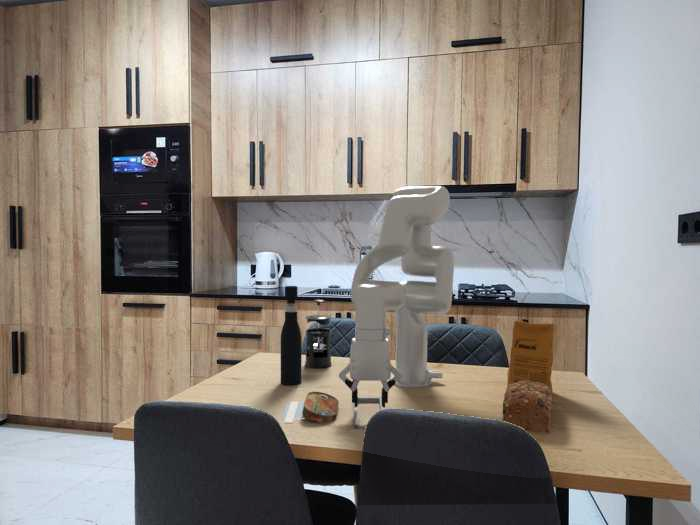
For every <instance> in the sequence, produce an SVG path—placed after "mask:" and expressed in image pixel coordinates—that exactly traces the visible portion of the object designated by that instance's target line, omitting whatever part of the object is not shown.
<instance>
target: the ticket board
mask: <svg viewBox="0 0 700 525" xmlns="http://www.w3.org/2000/svg"><path fill="white" fill-rule="evenodd" d="M304 402H305V401H304ZM304 402H300V401H291V402H290V401H287V403H286V405H285V408H284V411H283V414H282V416H281V419H280V421H279V423H280V422H281V423H280V424H293V423H294V421H293V420H294V418H297V417H299V418H301V419H302V418H304V417H303V415H302V411H303V407H304ZM284 418H285V421H284V420H283V421H284V423H282V419H284ZM309 423H313V422H312V421H309Z"/></svg>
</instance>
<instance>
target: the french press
mask: <svg viewBox="0 0 700 525" xmlns="http://www.w3.org/2000/svg"><path fill="white" fill-rule="evenodd" d="M312 302H315V303H316V304H317V314H312V315H306V317H305V319H306V323H307V324H308V323H311V322H316V323H317V328H315V327H314V328H308V329H306V330H305V335H306V353H305V362H304V365H305V366H306V367H308V368H314V369H315V368H317V369H318V368H319V369H320V368H321V369H322V368H328V367H331V365H332V354H331V335H332V330H331V328H323V327H321V328H320V325H321V326H326V325H330V323H331V319H332V316H331V315H327V314H326V315H325V314H320V306H321V303H323V302H325V300H324V299H319V298H317V299H313V300H312ZM314 338H317V343H314V342H315V341H314V340H315V339H314ZM320 338H322V343H320Z"/></svg>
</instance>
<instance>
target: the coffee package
mask: <svg viewBox="0 0 700 525" xmlns="http://www.w3.org/2000/svg"><path fill="white" fill-rule="evenodd" d="M513 322H514V323H513V328H512V340H511V341H512V343H511V348H510V359H509V367H508V371H507V379H506V380H507V384H506V386H507V387H508V386H509V385H510V384H514V383H516V382H518V381H520V380H526V381H533V382H538V383H542V384H546V385H547V386H549V387H550V388H551V392H552V396H551V397H552V398H553V397H554V392H553V385H552V380H551V378H552V373H553V372H552V367H553V361H554V346H553V345H554V332H555V324H554V323H553V322H550V323H549V322H546V323H531V322H526V321H521V320H517V319H514V321H513Z"/></svg>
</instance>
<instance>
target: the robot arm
mask: <svg viewBox="0 0 700 525" xmlns="http://www.w3.org/2000/svg"><path fill="white" fill-rule="evenodd" d="M450 197H451V196H450V192H449V191H448V189H447V188H446V187H445V186H442V185H430V186H429V185H427V186H405V187H401V188H398V189H396V190H394V192H393V194H392V198H391V199H389V201H388V202H387V205H386V208H385V211H384V212H385V213H384V216H383V220H382V225H381V229H380V234H379V238H378V242H377V243H376V245H375V246H374V247H371V249H370V250H369V251H368V252H367V253H365V255H364V256H363V257H362V258H361V260H360V261H359V262H358V264H357V265H356V268H355V270H354V271H355V272H354V274H353V277H352V281H351V282H352V283H351V288H350V299H351V302H352V304H353V305H354V306H355V325H354V328H355V329H354V330H355V331H354V332H355V334H354V335H355V337H353V338H352V339H351V343H350V351H349V363H348V364H347V365H346V366H345V367H344V368H343V369H342V370H341V371H339V373H338V377H339V379H340V380H341V381H342V382H343V383H344V384H345V385H346V386H347V387H348V388H349V389H350V391H351V403H352V404H354V403H355V407H357V408H358V406H359V405H358V403H359V402H358V397H359V396H358V395H359V394H358V393H359V392H358V385H359V383H360V381H363V382H365V381H366V382H370V381H371V382H375V381H376V382H380V383H381V384H382V388H381V397H382V401H381V403H382V407H383V408H384V409H385V408H386V404H388V403H389V391H390V390H391V388H393V386H396V387H398V388H405V389H421V388H426V387H429V386H431V385H432V383H433V382H432V379H443V372H442V371H437V370H429V369H428V324H427V322H426V320H425V319H424V317H423V315H422V314H429V315H430V314H432V315H433V314H434V315H445V314H447V313H448V312H449V311H450V310H451V308H452V303H453V302H452V301H453V287H454V286H453V285H454V271H455V270H454V269H455V259H454V255H453V252H452V250H451V249H450V248H449V247H447V246H444V245H431V239H432V236H431V234H432V230H431V227H430V226H433V225H435V224H436V223H438V222H439V221H440V220H441V218H443V216H444V215H446V213H447V212H448V210H449V207H450V202H451V198H450ZM398 258H400V259H401V260H400V261H401V263H400V265H401V267H400V268H401V271H402V273H403V275H407V276H410V277H419V278H420V277H421V278H434V279H435V281H425V280H424V281H423V280H403V281H400V282H397V281H393V280H392V281H390V280H389V281H388V280H377V279H375V280H374V279H370V278H371V276H372V274H373V273H374V271H376V270H377V269H378V268H379V267H381V266H383V265H384V264H386V263H388V262H391V261H394V260H395V259H398ZM388 311H389V312H392V311H395V319H396V320H395V321H396V323H395V324H396V326H395V327H396V328H395V331H396V332H395V333H396V335H395V336H396V337H395V342H396V343H395V367H394V366H393V365H392V362H391V350H390V341H389V338H387V337H388V336H393V335H392V329H388V328H387V312H388ZM348 373H349V377H350V378H349V377H347V375H348ZM391 374H392V376H391Z"/></svg>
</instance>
